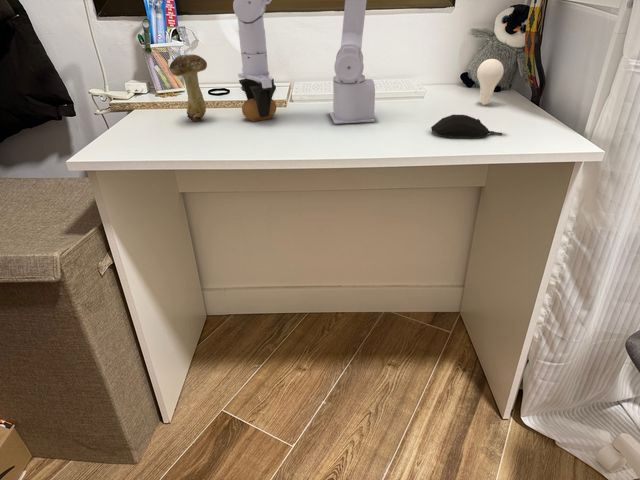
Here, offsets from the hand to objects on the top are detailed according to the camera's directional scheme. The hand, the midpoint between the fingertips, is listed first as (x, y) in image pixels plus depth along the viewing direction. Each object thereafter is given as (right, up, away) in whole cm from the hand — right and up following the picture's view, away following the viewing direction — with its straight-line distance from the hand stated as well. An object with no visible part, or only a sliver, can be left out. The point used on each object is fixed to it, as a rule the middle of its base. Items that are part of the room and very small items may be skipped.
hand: (259, 112), depth 105 cm
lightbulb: (+57, +4, +7) cm, 57 cm away
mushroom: (-15, -2, 0) cm, 15 cm away
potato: (0, -1, +1) cm, 1 cm away
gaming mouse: (+46, -8, -11) cm, 48 cm away
